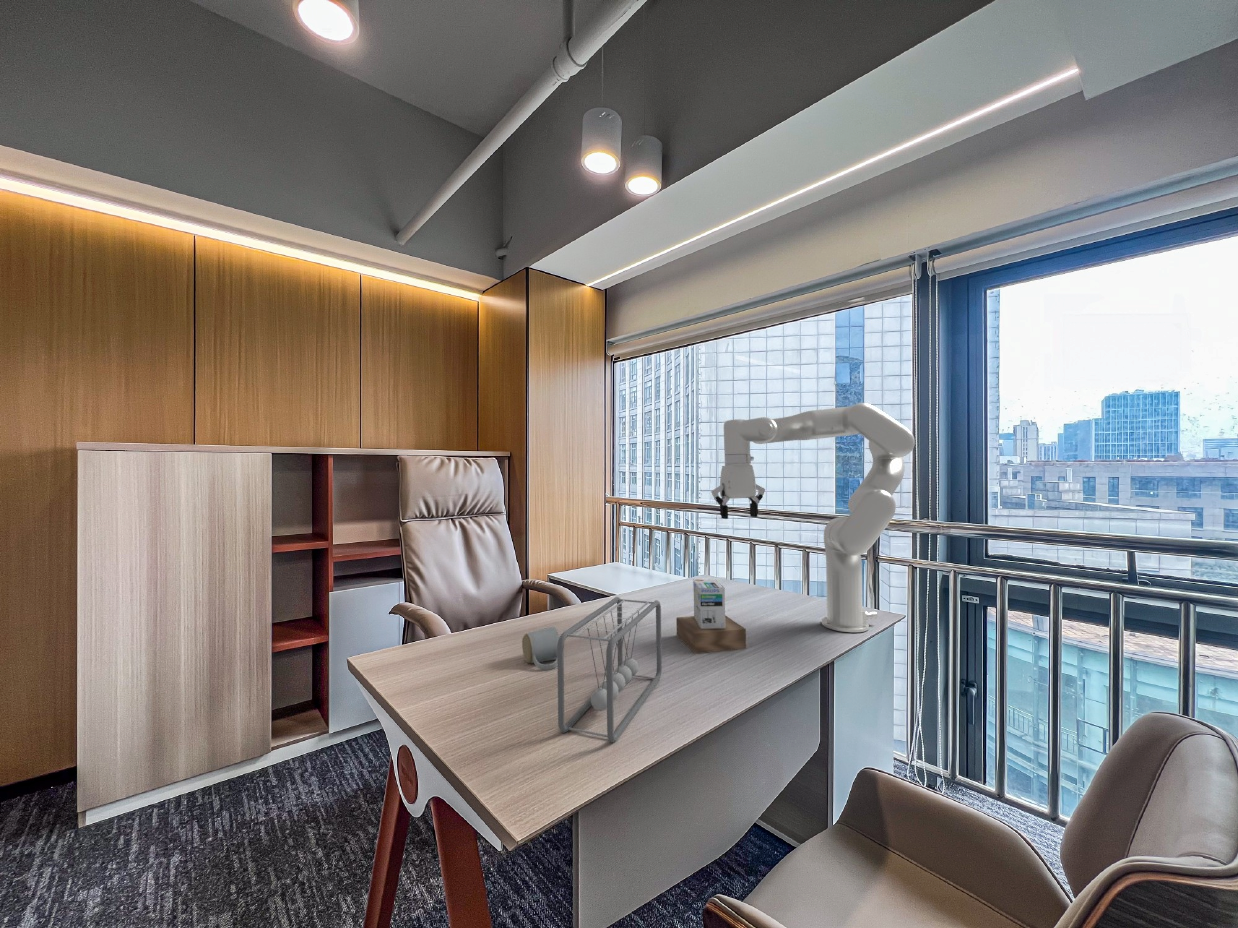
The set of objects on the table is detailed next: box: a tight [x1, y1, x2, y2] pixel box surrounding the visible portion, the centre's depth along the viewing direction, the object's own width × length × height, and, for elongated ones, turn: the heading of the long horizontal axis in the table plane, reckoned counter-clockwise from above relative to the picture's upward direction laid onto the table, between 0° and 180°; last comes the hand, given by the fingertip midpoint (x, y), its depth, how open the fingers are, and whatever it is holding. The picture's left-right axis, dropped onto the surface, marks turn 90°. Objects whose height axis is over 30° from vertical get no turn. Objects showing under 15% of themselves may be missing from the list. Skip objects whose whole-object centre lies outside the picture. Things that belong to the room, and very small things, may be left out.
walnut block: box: [675, 614, 747, 654], centre depth 133 cm, size 14×14×5 cm
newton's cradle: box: [557, 596, 663, 743], centre depth 99 cm, size 30×10×18 cm, turn 159°
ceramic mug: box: [521, 626, 560, 671], centre depth 120 cm, size 11×8×8 cm
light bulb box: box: [692, 578, 726, 629], centre depth 133 cm, size 11×7×11 cm, turn 2°
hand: (739, 517), depth 149 cm, fingers open, 9 cm apart
